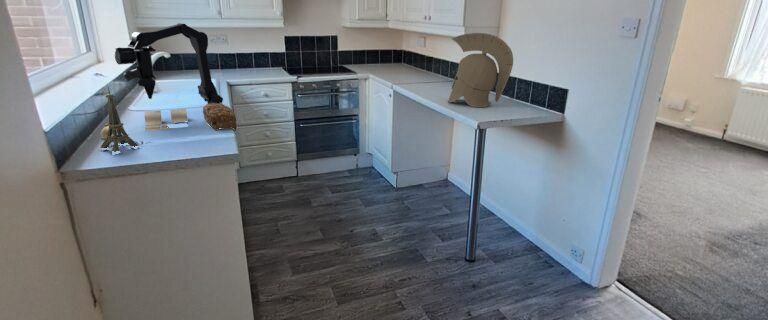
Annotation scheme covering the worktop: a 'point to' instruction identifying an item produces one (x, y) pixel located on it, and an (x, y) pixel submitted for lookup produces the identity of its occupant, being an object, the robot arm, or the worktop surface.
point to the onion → (105, 132)
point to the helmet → (481, 69)
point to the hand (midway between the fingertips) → (150, 98)
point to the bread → (219, 116)
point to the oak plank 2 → (179, 115)
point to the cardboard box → (157, 127)
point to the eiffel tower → (113, 125)
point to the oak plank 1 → (153, 118)
